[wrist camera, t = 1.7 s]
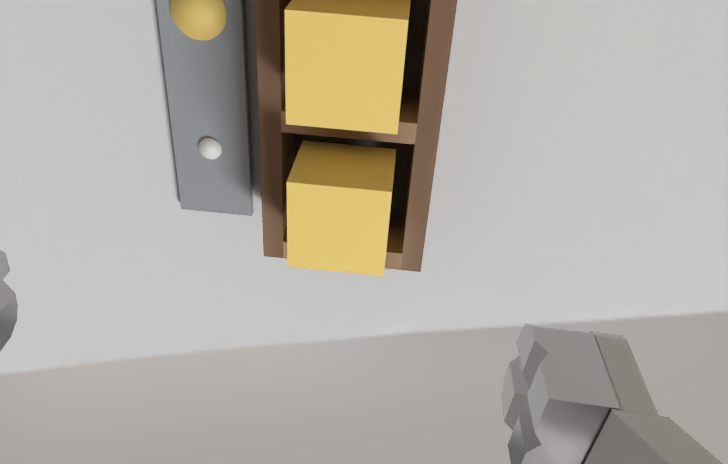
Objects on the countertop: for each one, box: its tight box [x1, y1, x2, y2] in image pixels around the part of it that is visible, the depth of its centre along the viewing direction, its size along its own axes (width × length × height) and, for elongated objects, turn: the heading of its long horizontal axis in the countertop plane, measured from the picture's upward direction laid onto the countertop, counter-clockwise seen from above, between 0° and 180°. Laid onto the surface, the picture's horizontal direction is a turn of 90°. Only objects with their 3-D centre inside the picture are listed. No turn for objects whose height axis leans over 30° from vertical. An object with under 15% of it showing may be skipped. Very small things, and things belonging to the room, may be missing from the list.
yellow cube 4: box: [286, 141, 396, 276], centre depth 29 cm, size 4×4×4 cm
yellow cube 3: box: [284, 0, 411, 134], centre depth 25 cm, size 4×4×4 cm
